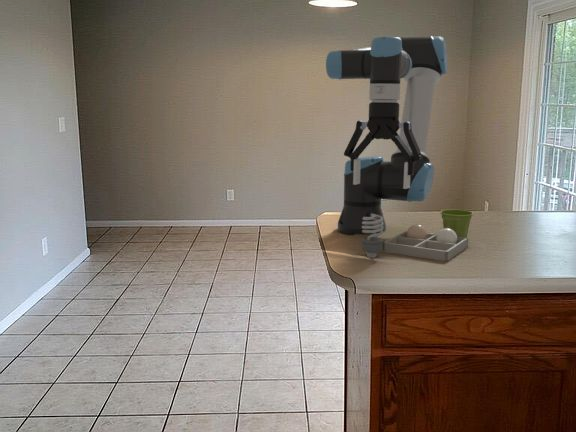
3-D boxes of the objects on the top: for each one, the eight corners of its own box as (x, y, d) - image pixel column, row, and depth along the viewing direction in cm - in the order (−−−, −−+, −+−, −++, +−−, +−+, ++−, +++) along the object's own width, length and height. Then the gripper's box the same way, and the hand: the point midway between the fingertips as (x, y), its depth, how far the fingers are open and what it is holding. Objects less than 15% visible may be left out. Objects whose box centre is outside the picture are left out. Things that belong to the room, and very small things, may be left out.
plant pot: (433, 241, 176) (434, 212, 174) (447, 235, 183) (448, 207, 181) (463, 246, 170) (465, 216, 168) (476, 240, 177) (478, 211, 175)
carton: (382, 253, 162) (382, 242, 161) (407, 240, 176) (407, 230, 176) (446, 263, 152) (447, 251, 152) (467, 249, 167) (468, 238, 166)
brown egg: (403, 244, 169) (404, 225, 168) (410, 240, 174) (411, 221, 173) (422, 247, 166) (423, 227, 165) (429, 243, 171) (430, 224, 170)
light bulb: (377, 263, 153) (378, 216, 150) (357, 259, 156) (358, 214, 153) (385, 258, 157) (387, 213, 155) (366, 255, 160) (367, 211, 158)
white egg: (432, 248, 165) (433, 228, 164) (439, 244, 169) (440, 225, 168) (452, 251, 162) (454, 231, 161) (459, 247, 166) (460, 227, 165)
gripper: (332, 101, 152) (330, 184, 156) (428, 102, 140) (424, 191, 144) (345, 101, 158) (342, 180, 162) (438, 102, 146) (433, 188, 150)
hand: (381, 186), depth 153 cm, fingers open, 13 cm apart
